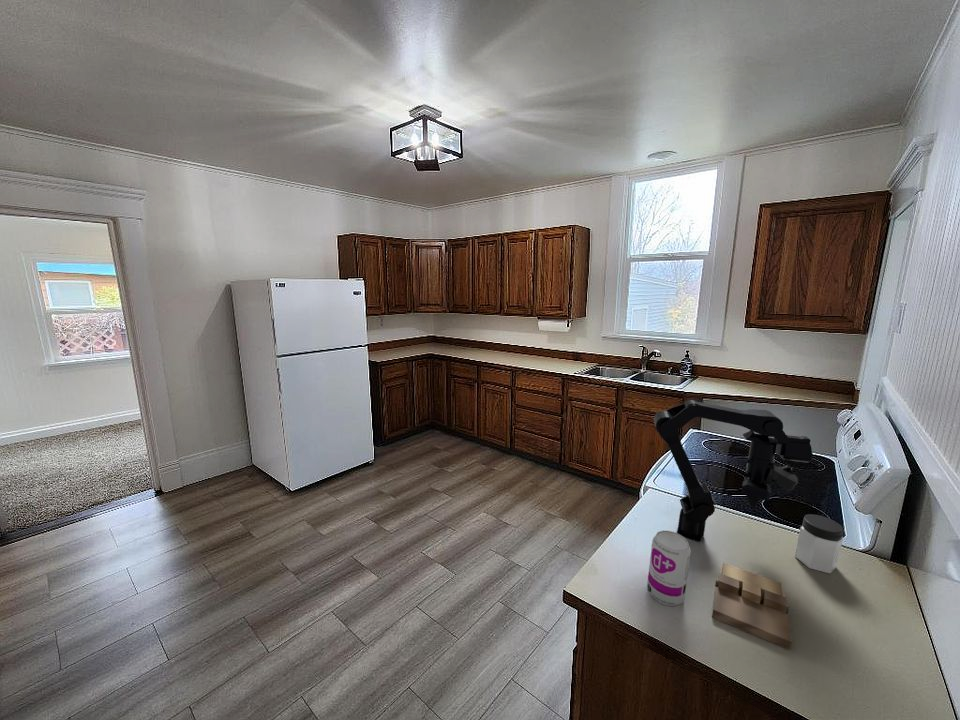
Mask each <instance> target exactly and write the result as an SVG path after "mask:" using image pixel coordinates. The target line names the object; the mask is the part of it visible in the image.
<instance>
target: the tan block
mask: <svg viewBox="0 0 960 720" xmlns="http://www.w3.org/2000/svg"><path fill="white" fill-rule="evenodd" d="M720 574H723V575H726V576H728V577H731V578H734V579H737V580H739V591H738V596H740V597H743V598H745V599H748V600H751V601H753V602H756V603H758V604H761V605H762V600H763V595H764V590H767V591H770V592H772V593H775V594H778V595H780V596H783V597H784V593H783V586H782V582H780V581H776V580H774V579H771V578H769V577H765V576H762V575H760V574H756V573H754V572H751V571H748V570H746V569H742V568H739V567H736V566H733V565H731V564H729V563H725V562H722V567H721V573H720Z"/></svg>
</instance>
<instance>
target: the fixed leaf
mask: <svg viewBox="0 0 960 720" xmlns="http://www.w3.org/2000/svg"><path fill="white" fill-rule="evenodd" d="M718 577H719V578H718V579H715V584H714V586H715V590H714V596H713V606H712V615H711V617H712V618H714V619H716V620H717V621H720V622H723V623H726V624H728V625H729V626H733V627H734V628H737V629H740V630H741V631H745V632H746V633H749V634H752V635H754V636H757V637H759V638H760V639H764V640H766V641H767V642H768V641H769V643H773V644H775V645H778V646H780V647H783V648H785V649H787V650H791V645H792V637H791V636H792V635H791V628H790V627H791V625H790V618H789V612H790V606H788V604H787V597H786V596H784V595H783V596H780V595H778V594H775V593H772V592H770V591H767V590H764V595H763V600H762V604H758V603H756V602H753V601H751V600H748V599H745V598H743V597H740V596H739V595H738V591H739V580H737V579H734V578H731V577H728V576H726V575H723V574H721V573H719V576H718Z"/></svg>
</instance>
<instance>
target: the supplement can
mask: <svg viewBox="0 0 960 720" xmlns="http://www.w3.org/2000/svg"><path fill="white" fill-rule="evenodd" d="M691 552H692V550H691V548H690V544H689V542H688V540H687V539H686V537H683V536H681V535H680V534H678V533H676V532H675V531H672V530H660V531H657V532H656V534H655V536H653V538H652V542H651V551H650V558H649V566H648V575H647V584H646V588H647V591H648V593H649V594H650V596H652V598H654V599H655V601H657V602H659V603H660V604H661V605H664V606H665V605H666V606H670V607H673V606H674V607H675V606H677V605H678V606H679V605H681V604H682V603H683V602H684V601H685V594H686V588H687V580H688V574H689V566H690V558H691Z"/></svg>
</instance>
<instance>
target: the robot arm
mask: <svg viewBox="0 0 960 720" xmlns="http://www.w3.org/2000/svg"><path fill="white" fill-rule="evenodd" d="M695 418H701V419H704V420H710V421H714V422H720V423H723V424H724V423H725V424H730V425H734V426H735V425H736V426H739V427H743V428H745V429H747V430H749V431H747V432H744V433H743V434H742V437H744V438H745V440H746V441H749V442H750V444H749V451H748V457H747V462H746V465H745V475H744V479H743V481H742V485H741V489H740V490H741V492H740V493H741V494H742V495H744V496H746V497H747V501H748V504H749V506H750V507H751V508H753V509H755V508H756V507H757V505H758V503H759V501H760V500H762V501H766V502H769V501H770V500H771V499H770V498H771V494H772V493H771V492H772V491H771V485H770V484H773V483H775V484H776V485H778V486H780V487H781V488H783V489H785V491H787V492H792V491H793V490H794V488H795V487H796V486H797V484H798V483H799V479H798V478H799V477H798V476H796V474H794V473H793V467H791V466H789V465H788V464H786V465H784V466H777V465H775V456H776V455H777V456H779V458H780V459H782V460H786V461H793V462H798V463H799V462H801V463H807V464H808V463H810V462H811V461H812V459H813V455H814V454H813V449H812V445H811V439H810V438H809V437H808V436H804V435H801V436H800V435H799V436H797V435H791V434H790V435H789V434H786V432H785V431H784V430H783V429H784V423H783V422H782V420H781V419H780V418H779V417H778V416H776V415H775V414H774V413H773V412H772V411H770V410H766V409H746V410H745V409H736V408H731V407H728V406H720V405H716V404H712V403H706V402H701V401H696V400H694V399H688V400H687V401H685V402H683V403H680V404H678V405H675V406H671V407H669V408H668V409H665V410H660V411H657V412H656V413H655V415H654V417H653V422H654V426H655V430H656V431H657V433H658V435H659V436H660V437H661V438H662V440H663V442H664V443H665V444H666V445H667V447H668V448H669V451H670V452H671V455H672V457H673V460H674V461H675V463H676V466H677V469H678V470H679V472H680V474H681V477H682V480H683V482H684V484H685V486H686V487H685V488H686V491H687V493H686V494H687V495H686V496H684V497H682V498H681V499H679V503H680V506H681V508H680V511H679V519H678V525H677V529H676V532H675V533H678V534H680V535H681V536H683V537H684V538H685V539H686V538H687V539H689V540H692V541H696V542H700V543H701V542H702V539H703V538H704V536H705V531H706V524H707V523H706V521H707V519H708V518H709V517H711V516H712V515H713V514H715V511H716V508H715V506H716V505H717V502H716V501H715V499H714V497H713V494H712V492H711V490H710V488H709V486H708V484H707V482H703V483H701V481H700V480H699V479H698V477H697V475H696V473H695V470H694V468H693V466H692V464H691V462H690V459H689V456H688V454H687V453H686V450H685V448H684V446H683V444H682V441H681V436H680V435H681V434H680V430H679V429H681V428H683V427H685V426H686V425H688V423H689V422H691V420H693V419H695Z"/></svg>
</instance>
